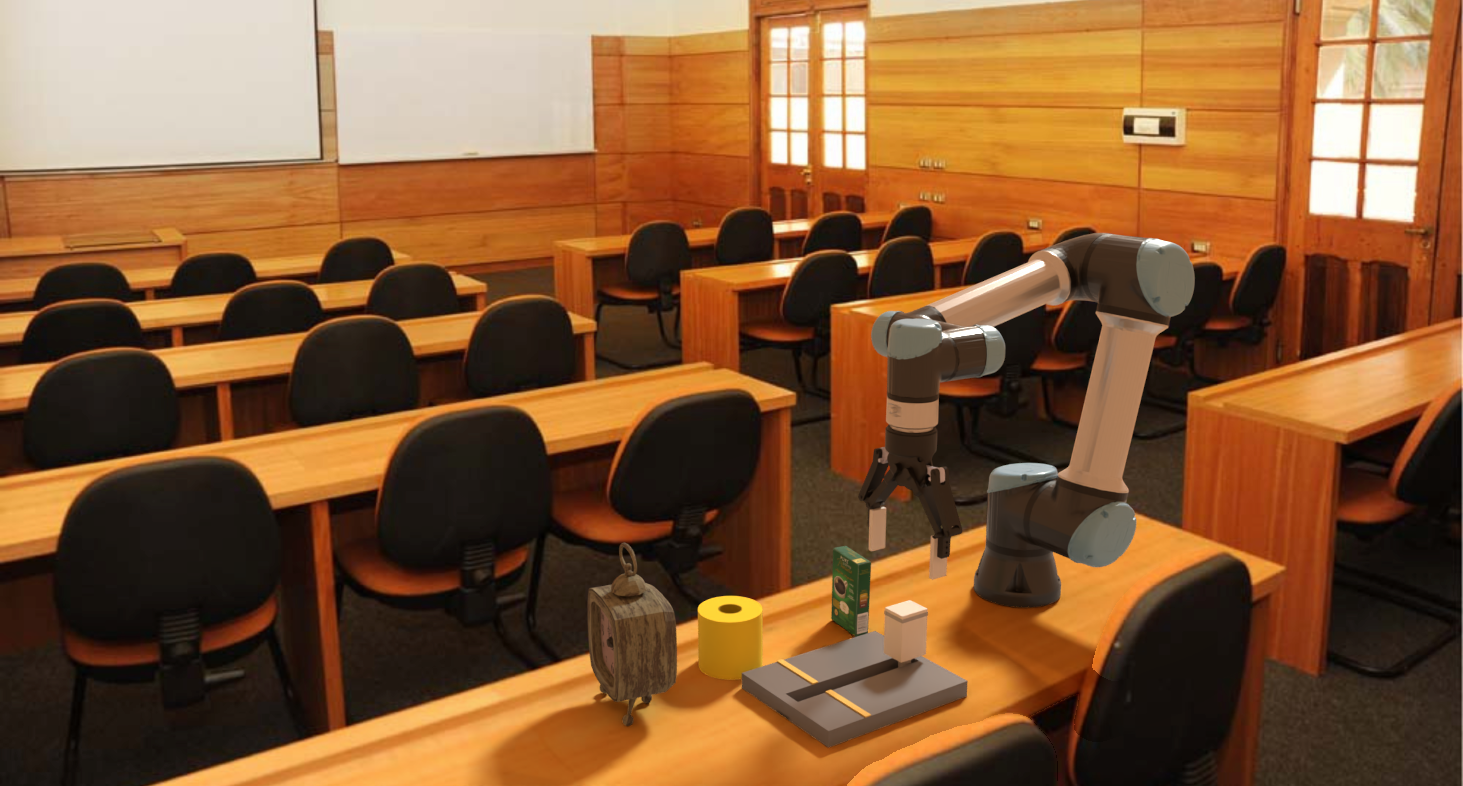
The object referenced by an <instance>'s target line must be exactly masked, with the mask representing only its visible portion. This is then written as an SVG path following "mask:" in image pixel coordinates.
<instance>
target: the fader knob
mask: <svg viewBox="0 0 1463 786" xmlns="http://www.w3.org/2000/svg"><path fill="white" fill-rule="evenodd" d="M928 615H929V611H928V607H925V606H923V605H921V604H919V603H917V602H915V601H914V600H913V601H912V600H911V599H909V600H906V601H902V602H899V603H895V604H892V605H888V606H885V607H884V627H883V629H884V631H883V634H884V653H885V654H886V655H888V656H890V657H892V658H894V659H895V660H897V661H898V668H899V667H902V666H905V665H908V664H911V659H914V658H917V657H920V656H923V657H924V656H925V655H927V640H928V639H927V636H928Z"/></svg>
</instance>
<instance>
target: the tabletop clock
mask: <svg viewBox="0 0 1463 786" xmlns="http://www.w3.org/2000/svg"><path fill="white" fill-rule="evenodd" d="M624 549H626V551H627V552H628V554H629V555H630V557H631V560H632V564H633V568H632V564H631V563H630V562H628V563H626V561H625V559H624V556H623V551H624ZM618 554H619V555H618V556H619V560H620V564H621V567H622V569H623V570H624V573H622V574H620V575H618V576H617V577H616V578H614V580H613V581H612V584H608V585H603V586H602V585H601V586H595V587H589V588H588V589H587V599H586V600H587V602H586V603H587V608H586V609H587V614H586V615H587V639H588V641H587V642H588V652H589V660H590V666H591V669H592V672H593V674H594V676H595V678H596V680H597V681H598V683H599V684H600V685H599V691H600V692H601V693H603V694H606V695H607V696H608V697H609V698H610V699H611V700H612V701H613V702H616V703H619V702H624V701H628V704H627V705H628V706H627V713H626V714H625V715H624V716H622V719H621V720H622V724H623V725H624V726H625V727H630V726H632V725H633V723H634V717H633V715H632V713H633V709H634V706H635V702H636V701H637V699H639V698H641V702H642V703H643V704H649V703H651V701H652V700H653V695H654V696H655V695H658V694H663V693H666V692H667V691H668V690H669V689H671V688H672V687H673V686H674V685H675V684H676V682H677V674H678V642H677V640H678V639H677V637H678V636H677V622H676V614H675V610H674V609H673V606H672V605H671V603H670V602H669V600H668V599H667V598H666V597H665V596H664V595H663V593H662V592H660V591H659V590H658V589H657V588H656V587H655V586H654V585H652V584H649V583H647V582H645V580H644V579H643V577H641V576H640V575H639V574H637V573H638V564H637V563H638V562H637V557H636V554H635V551H634V549H633V548H632V547H631V546H630V544H629V543H626V542H622V543H621V544H620V545H619V548H618ZM632 570H633V571H632Z"/></svg>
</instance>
